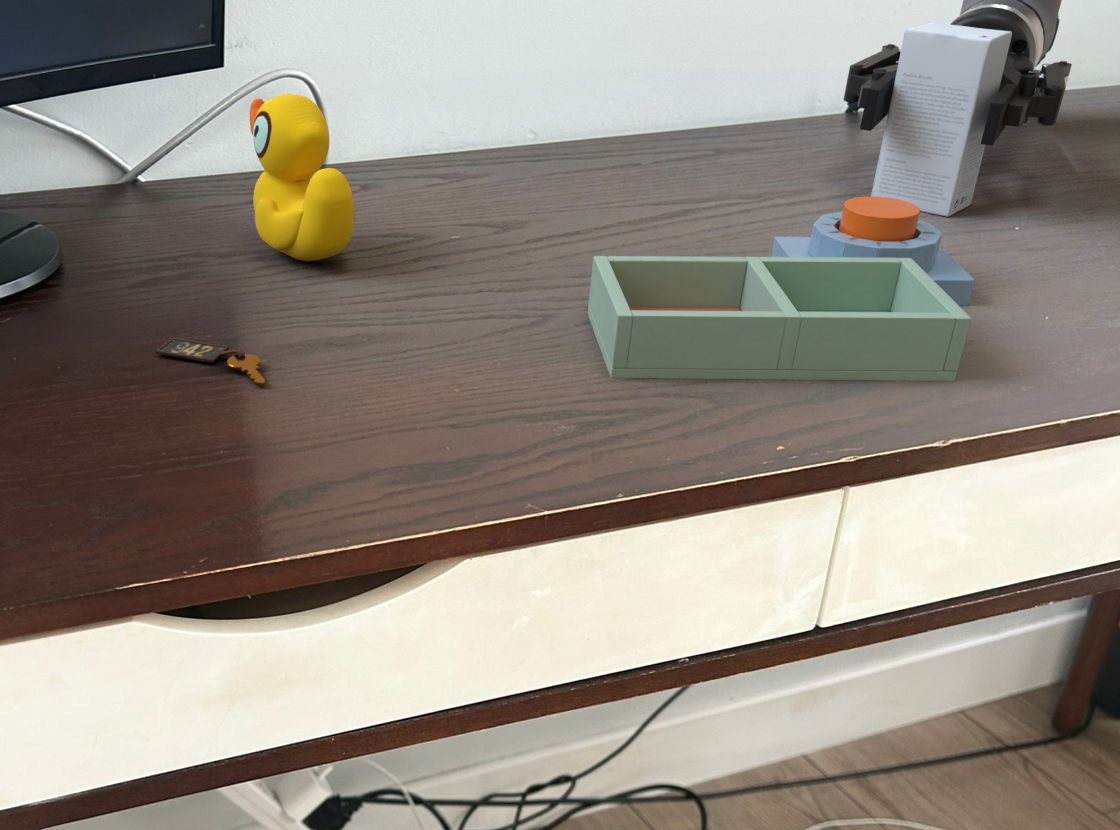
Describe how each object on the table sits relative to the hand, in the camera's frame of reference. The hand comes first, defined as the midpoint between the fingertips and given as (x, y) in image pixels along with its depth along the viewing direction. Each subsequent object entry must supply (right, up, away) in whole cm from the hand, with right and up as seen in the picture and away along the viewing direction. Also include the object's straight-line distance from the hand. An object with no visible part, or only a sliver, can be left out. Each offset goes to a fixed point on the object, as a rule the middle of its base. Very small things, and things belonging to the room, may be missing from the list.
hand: (929, 116), depth 93 cm
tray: (-16, -18, -15) cm, 29 cm away
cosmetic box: (+3, -4, +8) cm, 9 cm away
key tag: (-47, -20, -17) cm, 54 cm away
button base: (-7, -13, -7) cm, 16 cm away
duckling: (-43, -10, -1) cm, 44 cm away
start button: (-7, -10, -8) cm, 15 cm away
